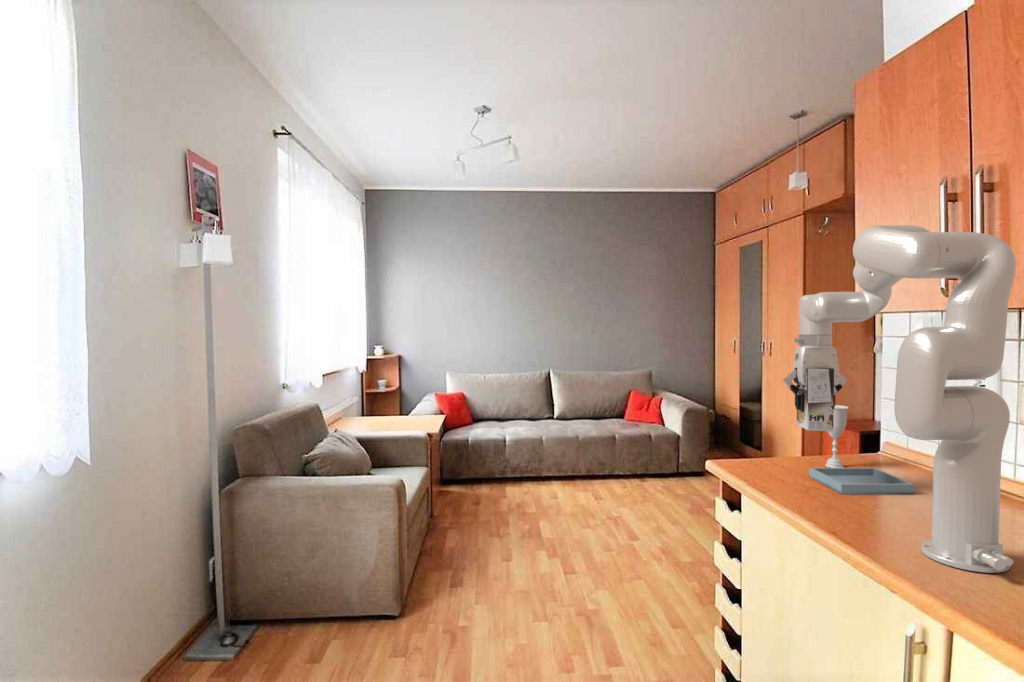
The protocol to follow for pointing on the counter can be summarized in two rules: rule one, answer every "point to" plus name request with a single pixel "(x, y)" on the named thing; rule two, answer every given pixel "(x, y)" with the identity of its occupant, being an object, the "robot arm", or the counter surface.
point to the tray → (861, 481)
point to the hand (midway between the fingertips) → (814, 409)
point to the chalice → (837, 434)
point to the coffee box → (818, 400)
